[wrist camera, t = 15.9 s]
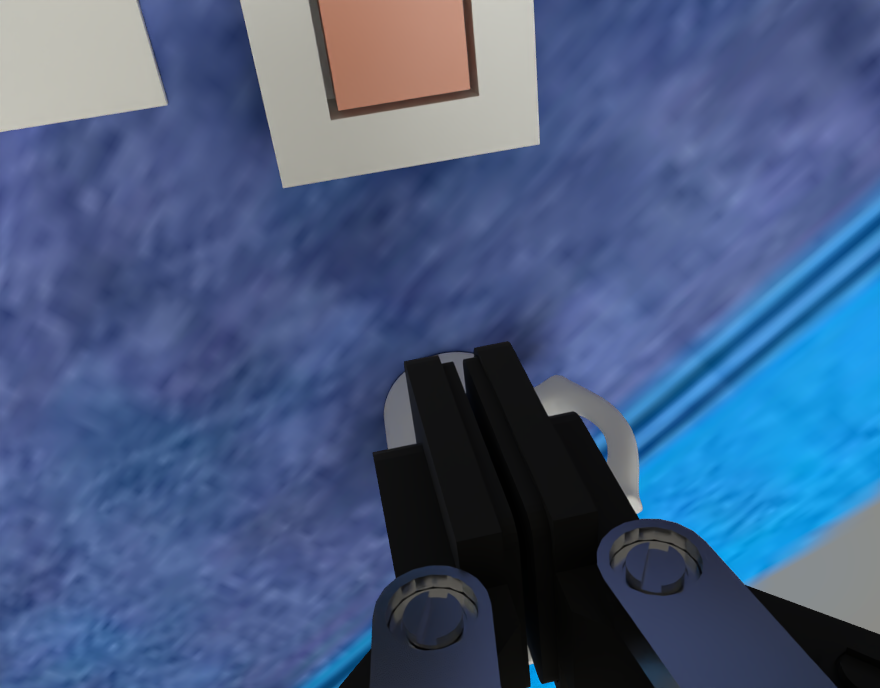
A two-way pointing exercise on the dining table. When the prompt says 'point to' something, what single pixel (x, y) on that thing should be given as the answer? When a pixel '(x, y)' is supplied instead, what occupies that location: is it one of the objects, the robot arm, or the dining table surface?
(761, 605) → the robot arm
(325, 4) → the button
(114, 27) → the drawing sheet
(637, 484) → the mug
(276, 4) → the button housing
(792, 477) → the dining table surface
